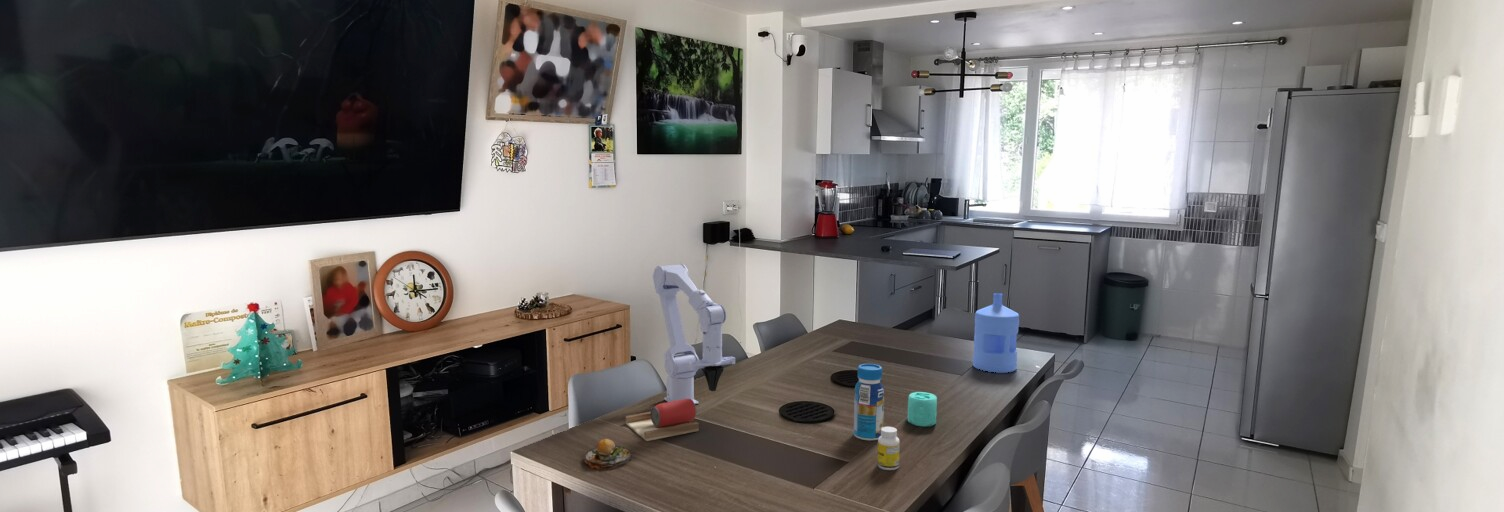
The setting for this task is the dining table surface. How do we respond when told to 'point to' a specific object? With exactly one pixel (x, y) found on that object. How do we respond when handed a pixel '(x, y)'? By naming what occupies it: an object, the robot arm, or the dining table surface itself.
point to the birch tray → (657, 427)
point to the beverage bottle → (868, 403)
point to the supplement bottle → (888, 449)
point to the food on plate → (607, 455)
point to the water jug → (996, 338)
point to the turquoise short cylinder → (922, 409)
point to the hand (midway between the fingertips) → (712, 390)
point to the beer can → (673, 412)
